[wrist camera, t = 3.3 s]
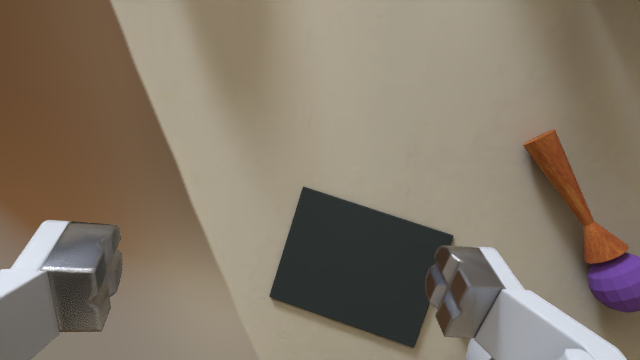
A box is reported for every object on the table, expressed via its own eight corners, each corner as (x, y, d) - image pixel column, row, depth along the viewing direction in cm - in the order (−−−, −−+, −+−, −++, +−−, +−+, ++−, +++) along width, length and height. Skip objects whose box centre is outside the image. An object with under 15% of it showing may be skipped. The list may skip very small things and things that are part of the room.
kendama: (580, 117, 42) (687, 299, 41) (547, 129, 48) (639, 288, 47) (528, 146, 42) (634, 329, 40) (502, 154, 48) (593, 314, 46)
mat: (452, 235, 48) (453, 236, 48) (413, 346, 50) (413, 347, 50) (303, 186, 50) (303, 186, 50) (270, 295, 52) (269, 296, 51)
